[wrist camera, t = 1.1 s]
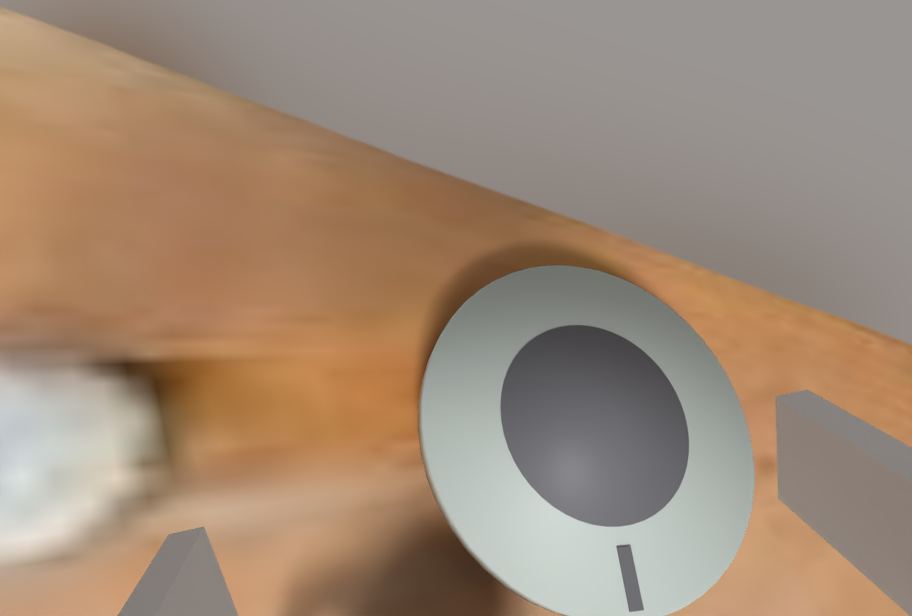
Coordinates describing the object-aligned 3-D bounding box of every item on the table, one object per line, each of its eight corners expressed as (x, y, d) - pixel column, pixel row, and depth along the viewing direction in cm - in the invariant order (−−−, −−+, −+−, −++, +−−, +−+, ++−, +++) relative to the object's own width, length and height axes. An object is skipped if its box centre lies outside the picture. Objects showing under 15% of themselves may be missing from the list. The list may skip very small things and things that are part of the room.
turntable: (409, 269, 35) (413, 256, 33) (685, 282, 40) (698, 271, 39) (429, 645, 26) (436, 649, 24) (784, 599, 31) (806, 600, 29)
